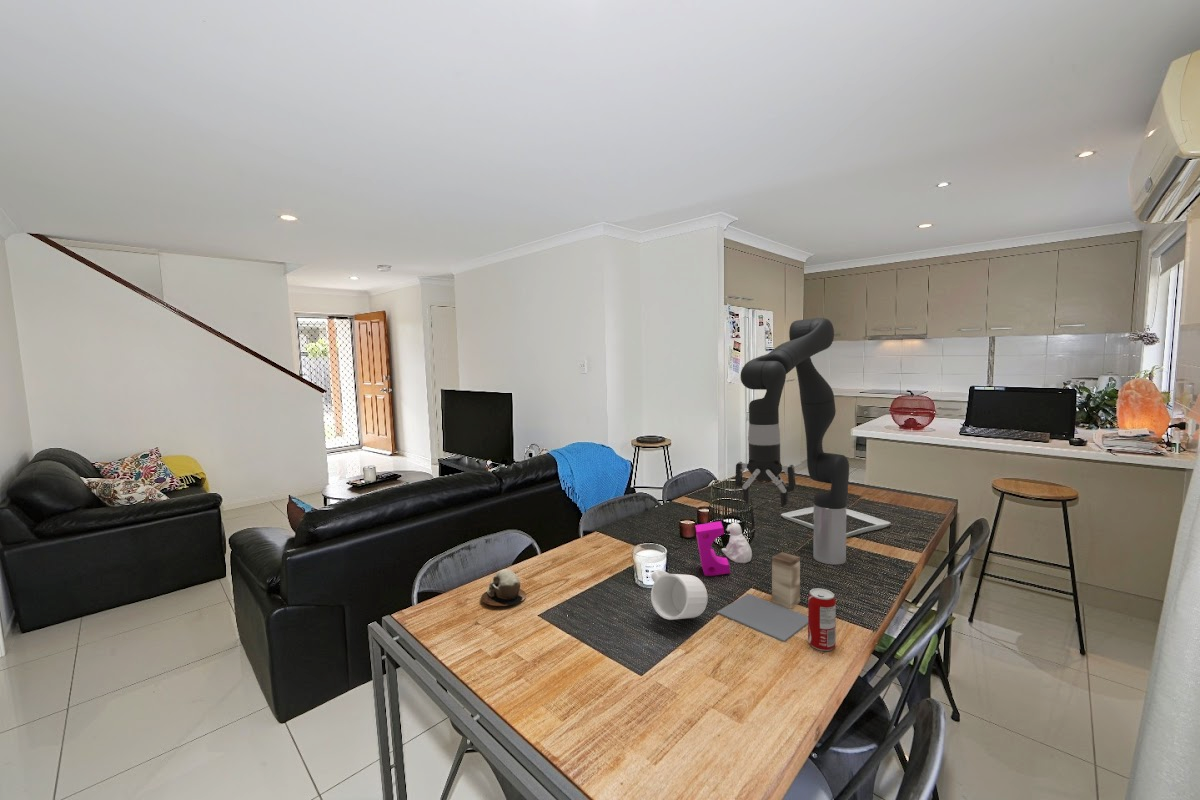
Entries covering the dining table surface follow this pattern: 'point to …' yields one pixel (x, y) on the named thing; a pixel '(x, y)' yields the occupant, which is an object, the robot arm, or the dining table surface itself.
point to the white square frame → (864, 517)
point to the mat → (765, 617)
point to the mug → (678, 595)
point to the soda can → (821, 619)
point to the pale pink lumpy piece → (737, 545)
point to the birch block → (786, 580)
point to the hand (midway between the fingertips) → (765, 504)
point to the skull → (504, 589)
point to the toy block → (707, 554)
